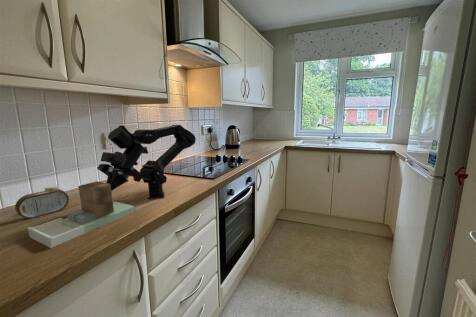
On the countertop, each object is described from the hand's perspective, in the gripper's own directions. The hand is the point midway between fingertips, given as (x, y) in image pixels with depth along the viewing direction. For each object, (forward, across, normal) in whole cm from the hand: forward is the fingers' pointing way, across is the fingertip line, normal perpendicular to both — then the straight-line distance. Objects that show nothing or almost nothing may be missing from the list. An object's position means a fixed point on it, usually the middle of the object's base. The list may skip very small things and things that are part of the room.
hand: (105, 192), depth 82 cm
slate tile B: (+10, -2, -2) cm, 11 cm away
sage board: (+8, 0, +4) cm, 9 cm away
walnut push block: (+7, 0, +2) cm, 7 cm away
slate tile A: (+10, +2, -2) cm, 11 cm away
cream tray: (+17, 0, -5) cm, 18 cm away
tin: (+13, -23, -1) cm, 26 cm away
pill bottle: (+9, -28, +3) cm, 29 cm away
